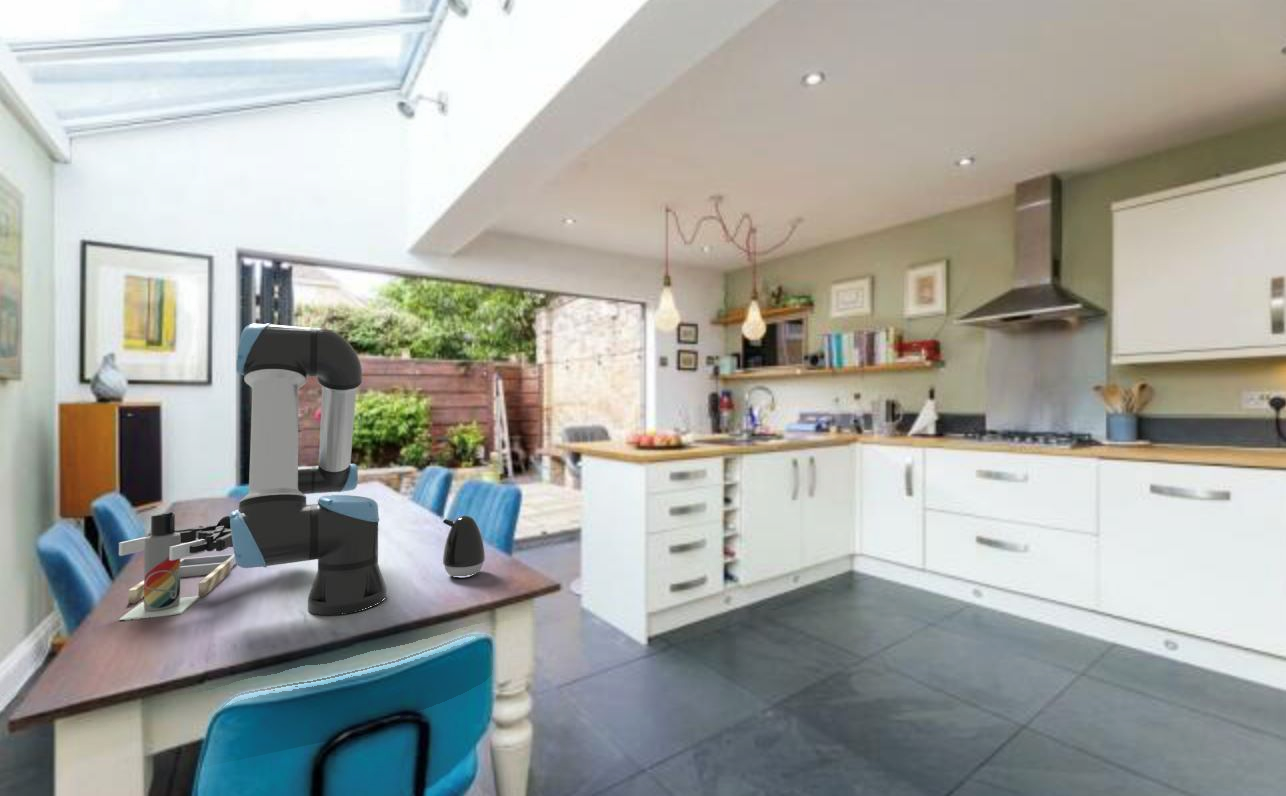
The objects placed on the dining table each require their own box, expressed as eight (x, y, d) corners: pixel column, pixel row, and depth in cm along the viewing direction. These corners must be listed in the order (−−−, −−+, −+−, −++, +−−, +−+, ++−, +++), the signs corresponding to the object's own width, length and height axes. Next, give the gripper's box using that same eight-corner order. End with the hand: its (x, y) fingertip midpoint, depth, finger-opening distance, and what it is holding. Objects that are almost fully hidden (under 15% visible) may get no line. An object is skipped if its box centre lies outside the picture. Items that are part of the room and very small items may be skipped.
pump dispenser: (448, 569, 141) (448, 511, 141) (488, 568, 142) (488, 511, 142) (436, 582, 131) (437, 520, 131) (480, 581, 132) (480, 519, 132)
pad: (181, 613, 111) (181, 611, 111) (118, 621, 107) (118, 619, 107) (199, 597, 120) (199, 595, 120) (142, 603, 116) (142, 602, 116)
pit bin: (226, 572, 138) (226, 562, 138) (167, 578, 133) (167, 568, 133) (237, 563, 146) (237, 553, 146) (182, 568, 141) (182, 558, 141)
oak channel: (205, 595, 121) (205, 582, 121) (128, 604, 116) (128, 590, 116) (230, 572, 138) (230, 560, 138) (163, 578, 133) (164, 566, 133)
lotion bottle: (163, 612, 111) (165, 515, 111) (136, 612, 111) (137, 515, 111) (186, 601, 116) (187, 509, 117) (160, 601, 116) (161, 509, 116)
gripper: (284, 546, 128) (192, 574, 108) (202, 540, 134) (99, 565, 113) (285, 515, 128) (193, 537, 108) (202, 510, 134) (100, 529, 113)
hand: (144, 551), depth 110 cm, fingers open, 13 cm apart
